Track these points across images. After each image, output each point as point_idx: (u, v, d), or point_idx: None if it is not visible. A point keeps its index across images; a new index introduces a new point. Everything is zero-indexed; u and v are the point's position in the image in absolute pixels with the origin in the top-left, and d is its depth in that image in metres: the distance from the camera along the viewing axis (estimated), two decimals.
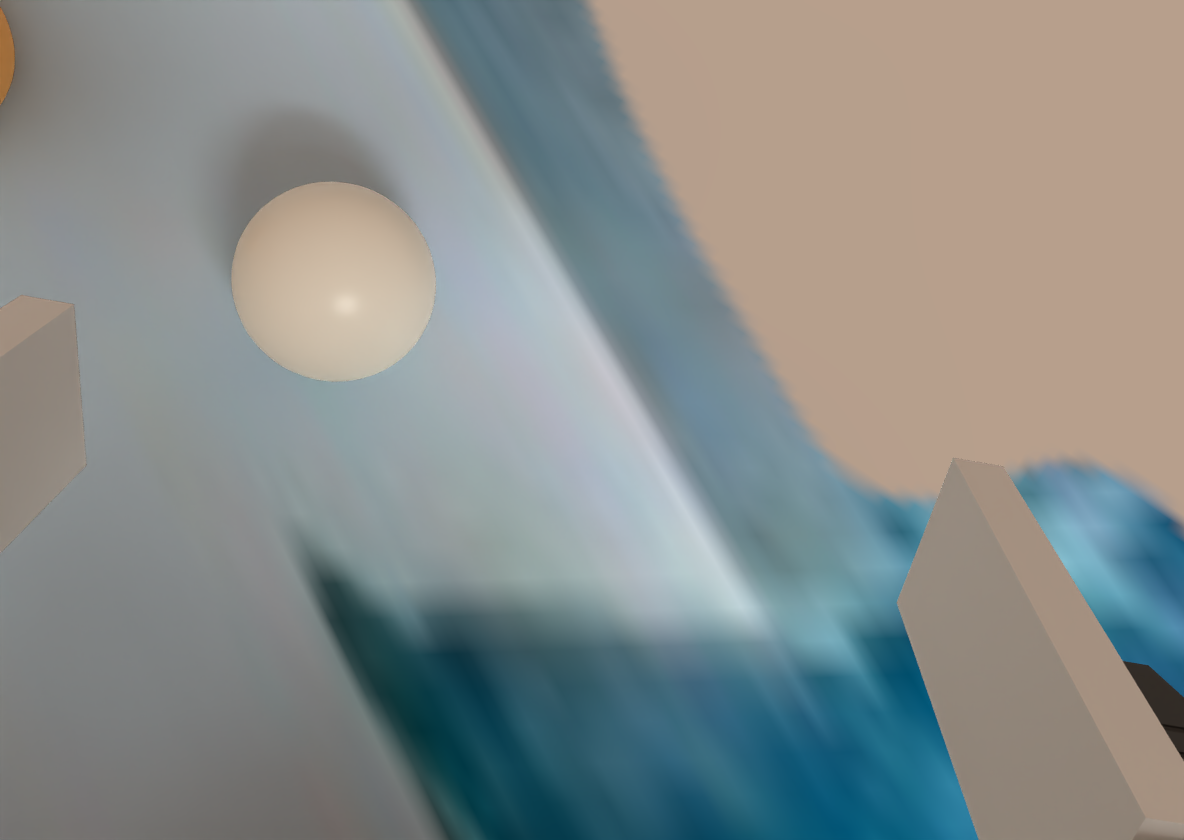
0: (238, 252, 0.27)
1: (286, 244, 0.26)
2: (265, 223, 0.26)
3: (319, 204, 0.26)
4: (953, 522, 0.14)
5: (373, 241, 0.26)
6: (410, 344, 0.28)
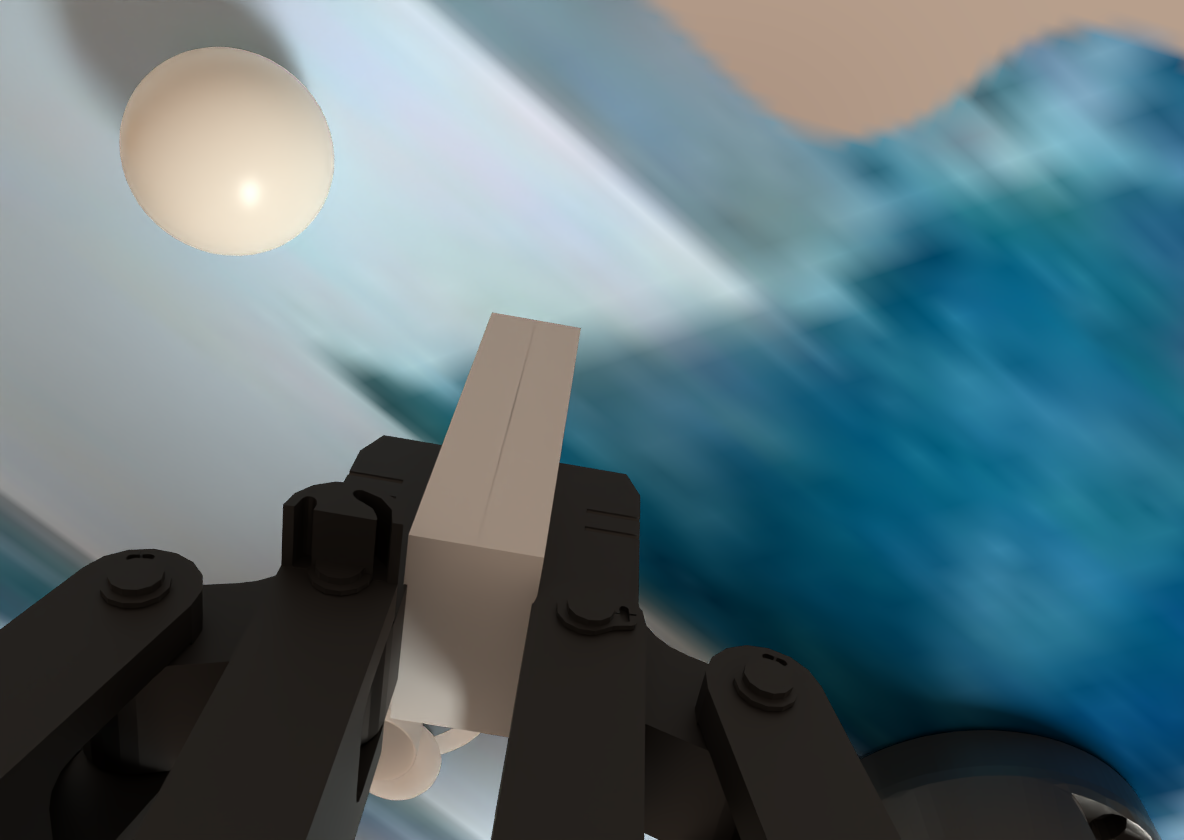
0: (127, 180, 0.27)
1: (160, 175, 0.25)
2: (132, 153, 0.26)
3: (167, 117, 0.25)
4: None
5: (235, 136, 0.25)
6: (326, 190, 0.28)
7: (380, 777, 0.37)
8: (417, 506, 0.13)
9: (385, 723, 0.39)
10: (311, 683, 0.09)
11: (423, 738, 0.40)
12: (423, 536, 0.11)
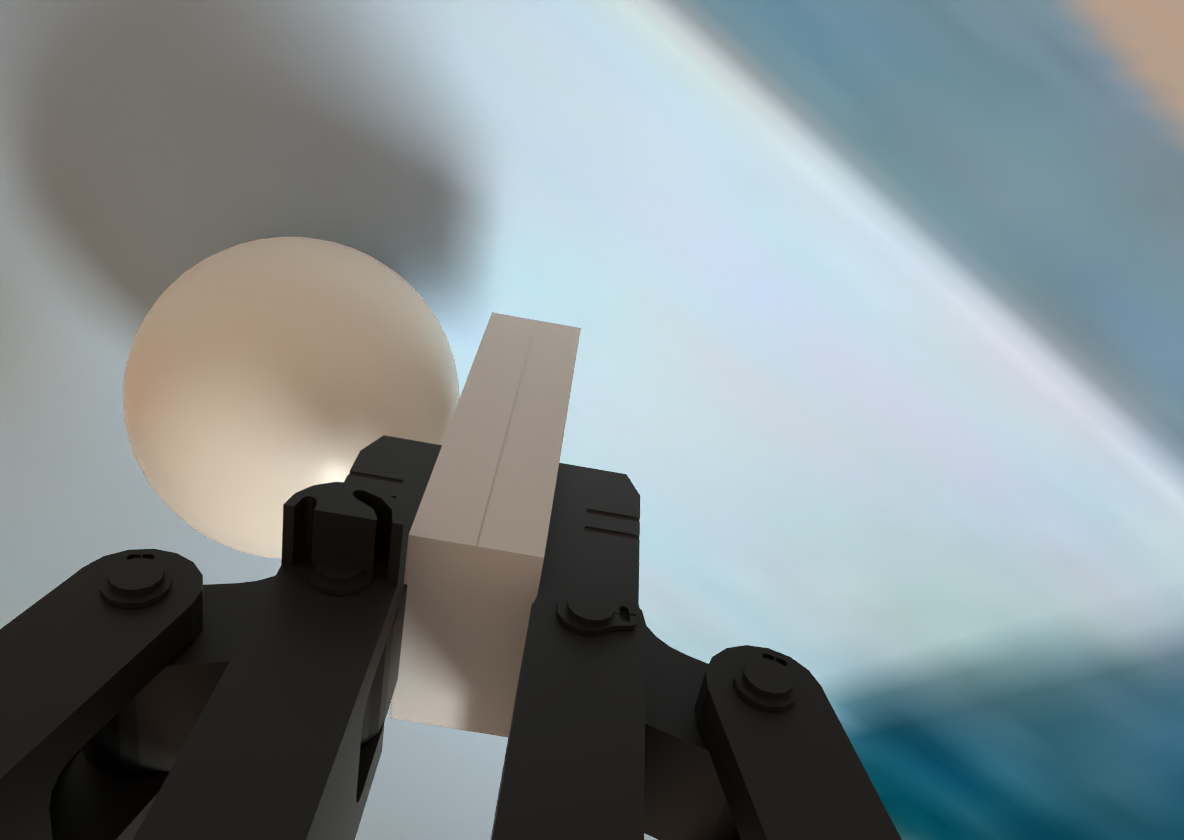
0: None
1: None
2: None
3: None
4: None
5: (142, 323, 0.16)
6: (212, 491, 0.15)
7: None
8: (417, 506, 0.13)
9: None
10: (311, 683, 0.09)
11: None
12: (423, 536, 0.11)
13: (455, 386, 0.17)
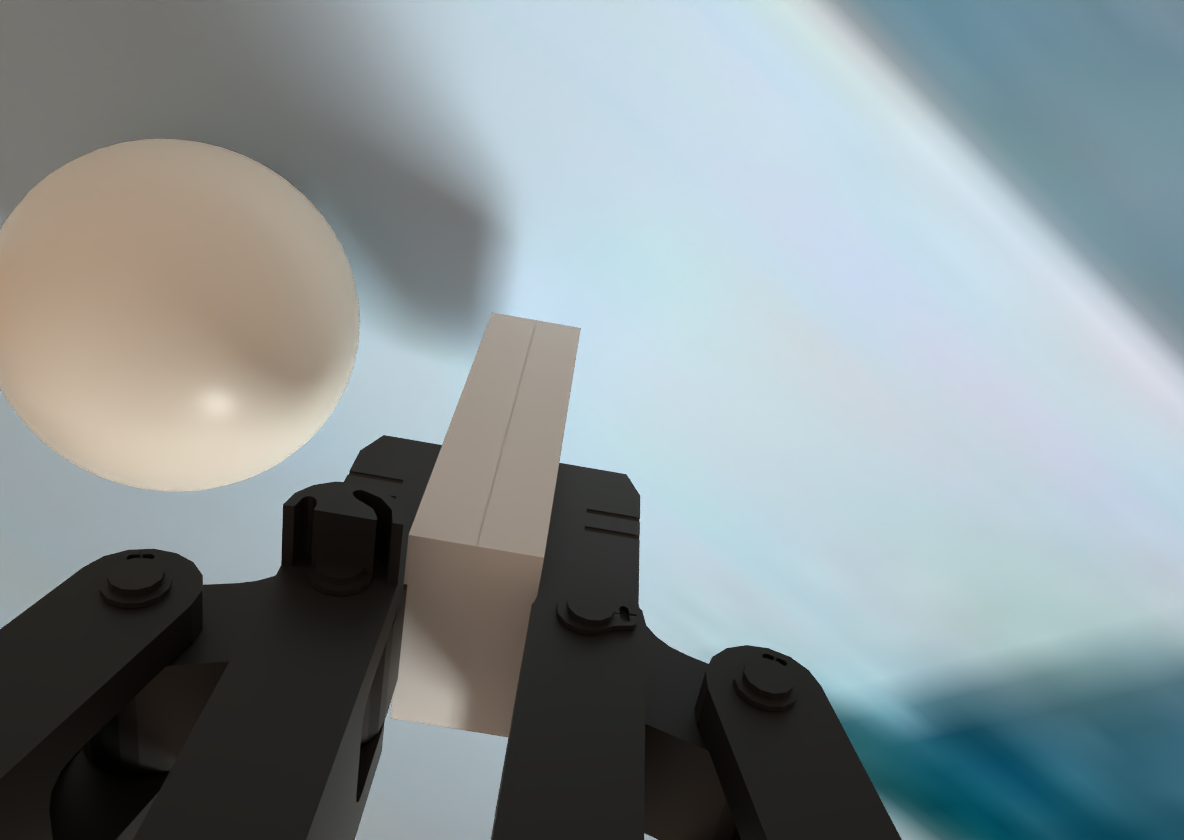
0: None
1: None
2: None
3: None
4: None
5: None
6: None
7: None
8: (417, 506, 0.13)
9: None
10: (310, 683, 0.09)
11: None
12: (423, 536, 0.11)
13: (185, 333, 0.14)
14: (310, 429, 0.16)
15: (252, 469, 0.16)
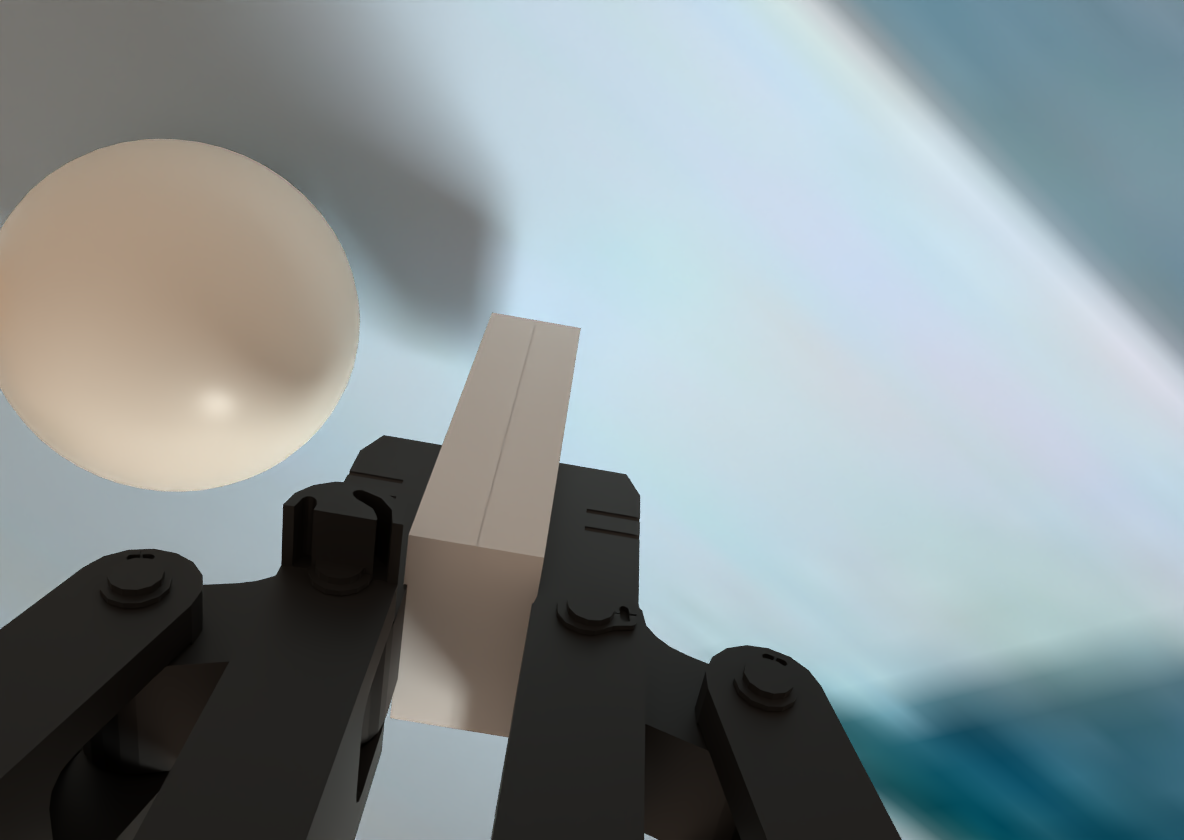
0: None
1: None
2: None
3: None
4: None
5: None
6: None
7: None
8: (417, 506, 0.13)
9: None
10: (310, 683, 0.09)
11: None
12: (423, 536, 0.11)
13: (185, 333, 0.14)
14: (310, 429, 0.16)
15: (252, 469, 0.16)
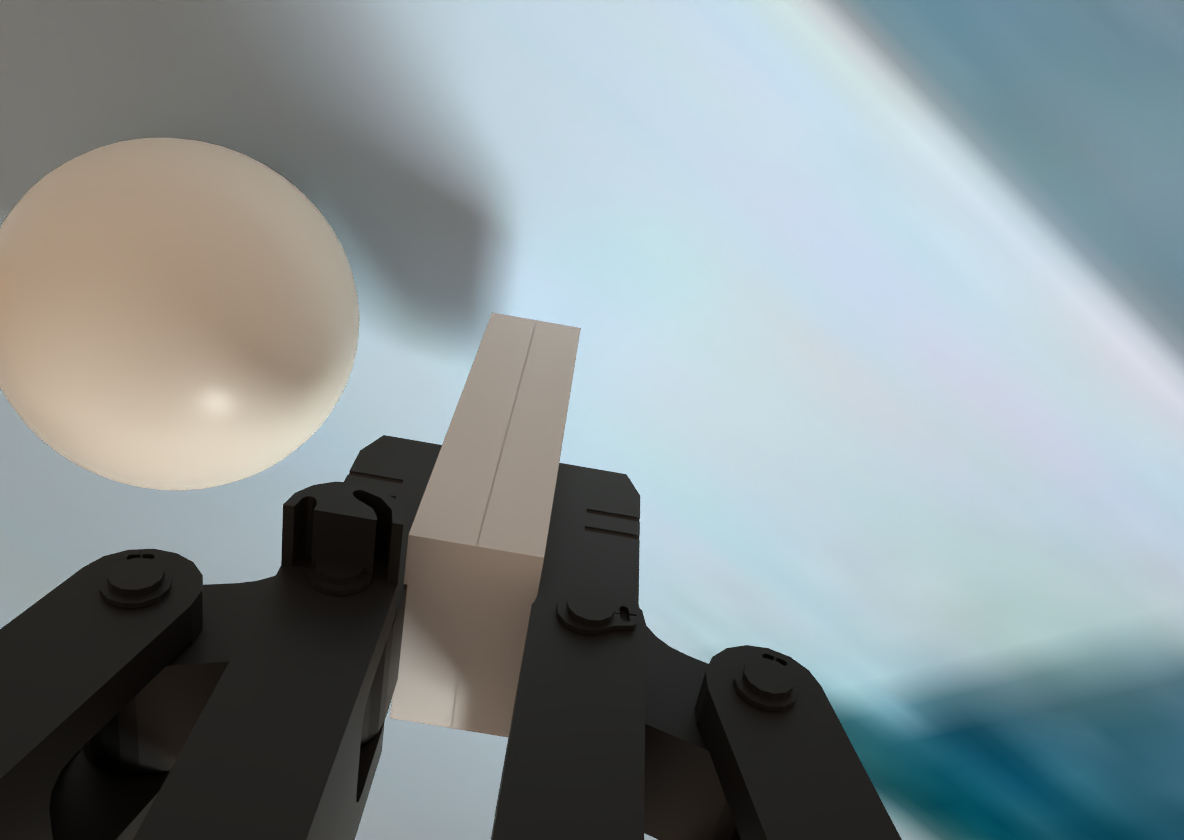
0: None
1: None
2: None
3: None
4: None
5: None
6: None
7: None
8: (417, 506, 0.13)
9: None
10: (311, 683, 0.09)
11: None
12: (423, 536, 0.11)
13: (185, 331, 0.14)
14: (310, 428, 0.16)
15: (251, 468, 0.16)
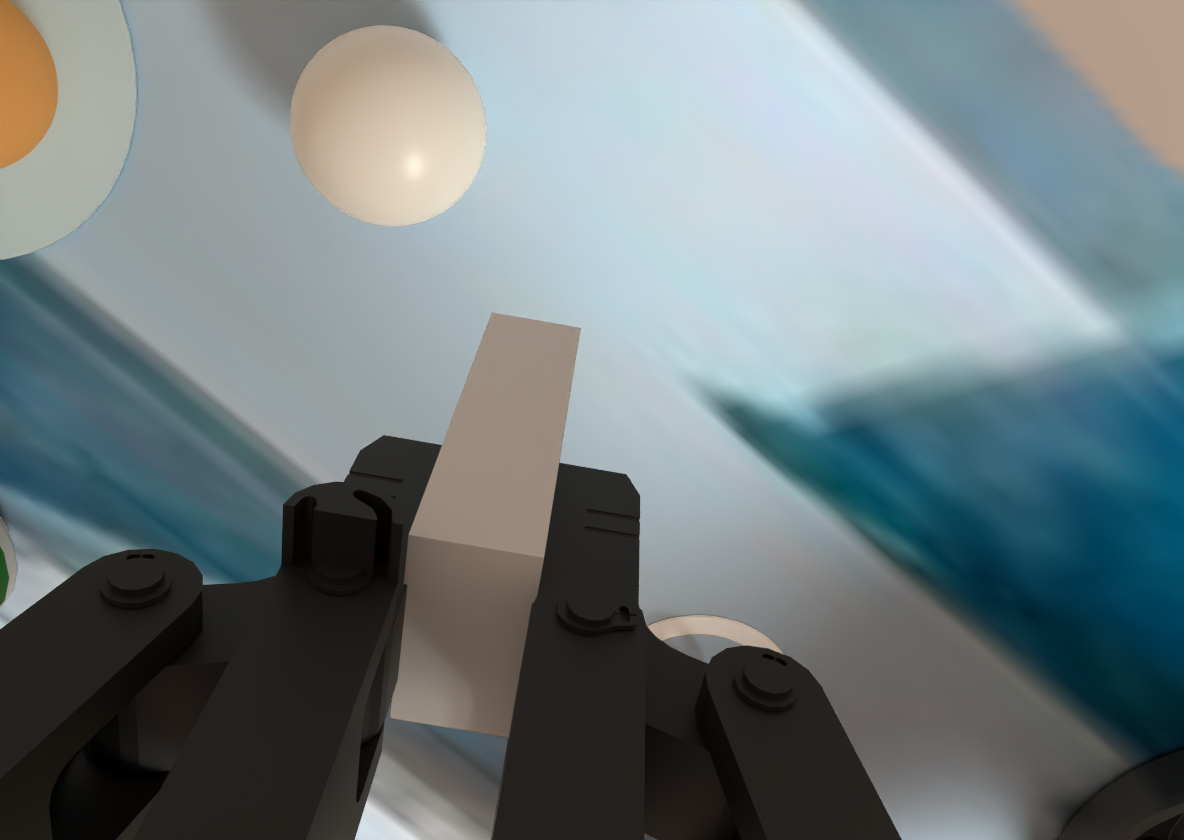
0: None
1: None
2: None
3: None
4: None
5: None
6: None
7: None
8: (417, 506, 0.13)
9: None
10: (311, 683, 0.09)
11: None
12: (423, 536, 0.11)
13: (411, 118, 0.26)
14: (462, 188, 0.29)
15: (432, 208, 0.28)
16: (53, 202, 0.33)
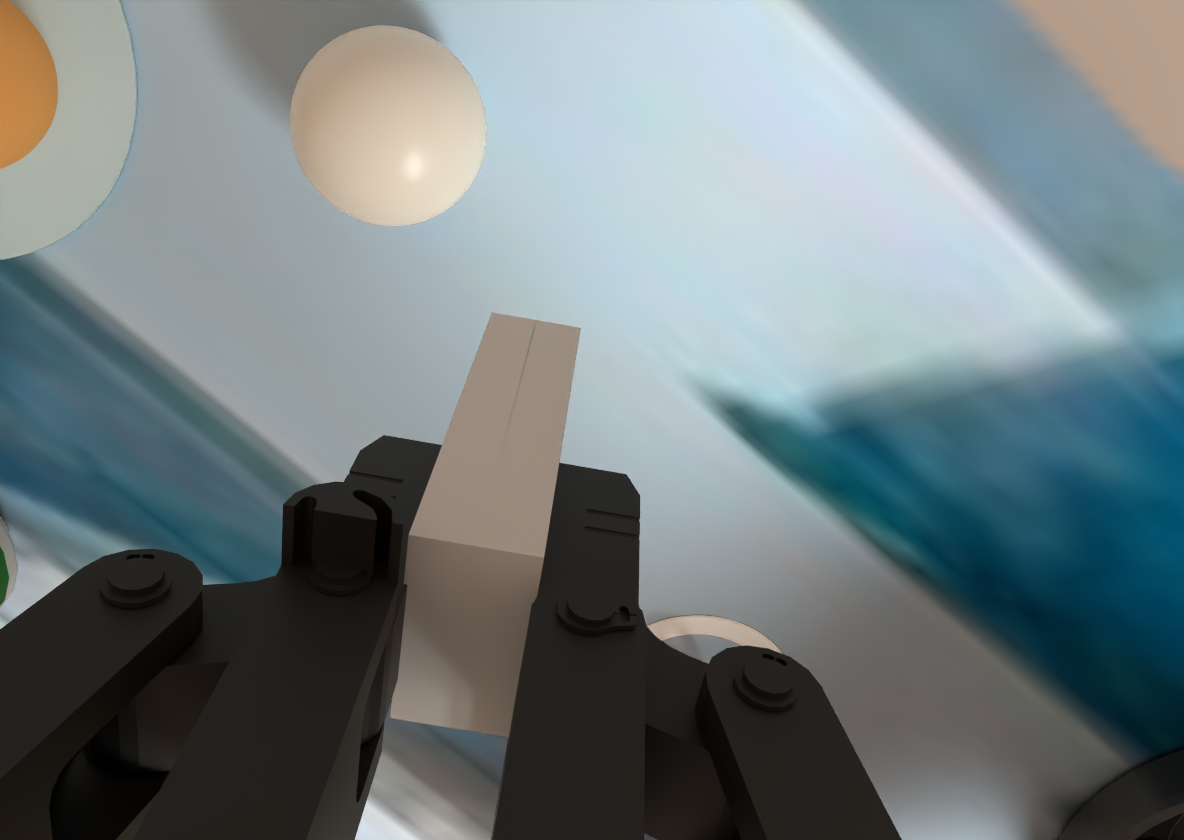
0: None
1: None
2: None
3: None
4: None
5: None
6: None
7: None
8: (417, 506, 0.13)
9: None
10: (311, 683, 0.09)
11: None
12: (423, 536, 0.11)
13: (411, 118, 0.26)
14: (462, 188, 0.29)
15: (432, 208, 0.28)
16: (53, 202, 0.33)
